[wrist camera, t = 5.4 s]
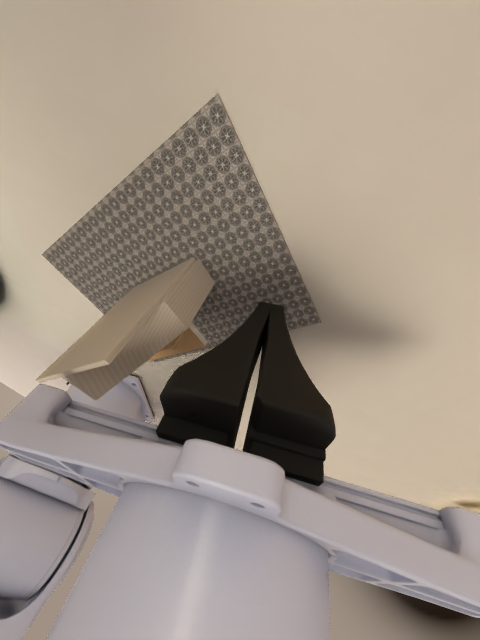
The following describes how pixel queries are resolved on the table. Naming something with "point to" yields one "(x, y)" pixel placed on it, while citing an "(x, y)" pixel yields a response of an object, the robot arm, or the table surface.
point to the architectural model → (175, 258)
